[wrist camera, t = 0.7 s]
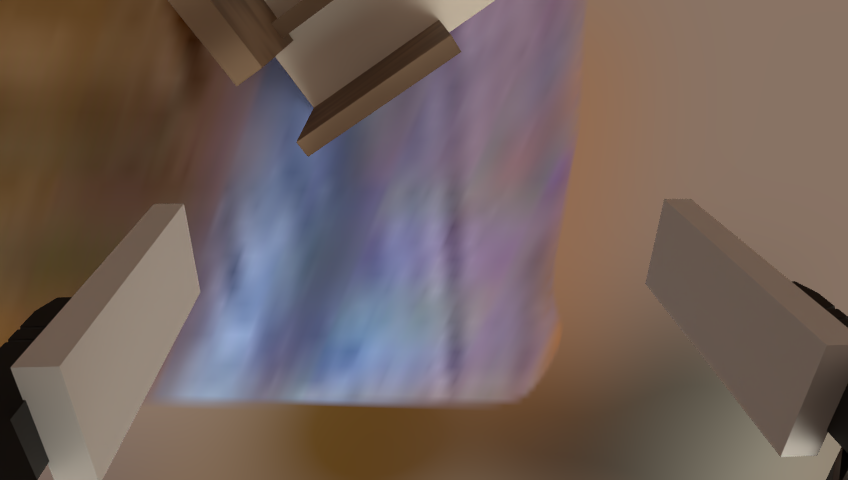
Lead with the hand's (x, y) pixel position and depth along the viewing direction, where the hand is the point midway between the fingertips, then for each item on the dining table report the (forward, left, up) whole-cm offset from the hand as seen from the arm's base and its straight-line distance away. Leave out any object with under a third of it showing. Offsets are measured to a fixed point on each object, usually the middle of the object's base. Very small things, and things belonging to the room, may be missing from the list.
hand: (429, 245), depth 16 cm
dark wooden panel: (-1, -1, -26) cm, 26 cm away
